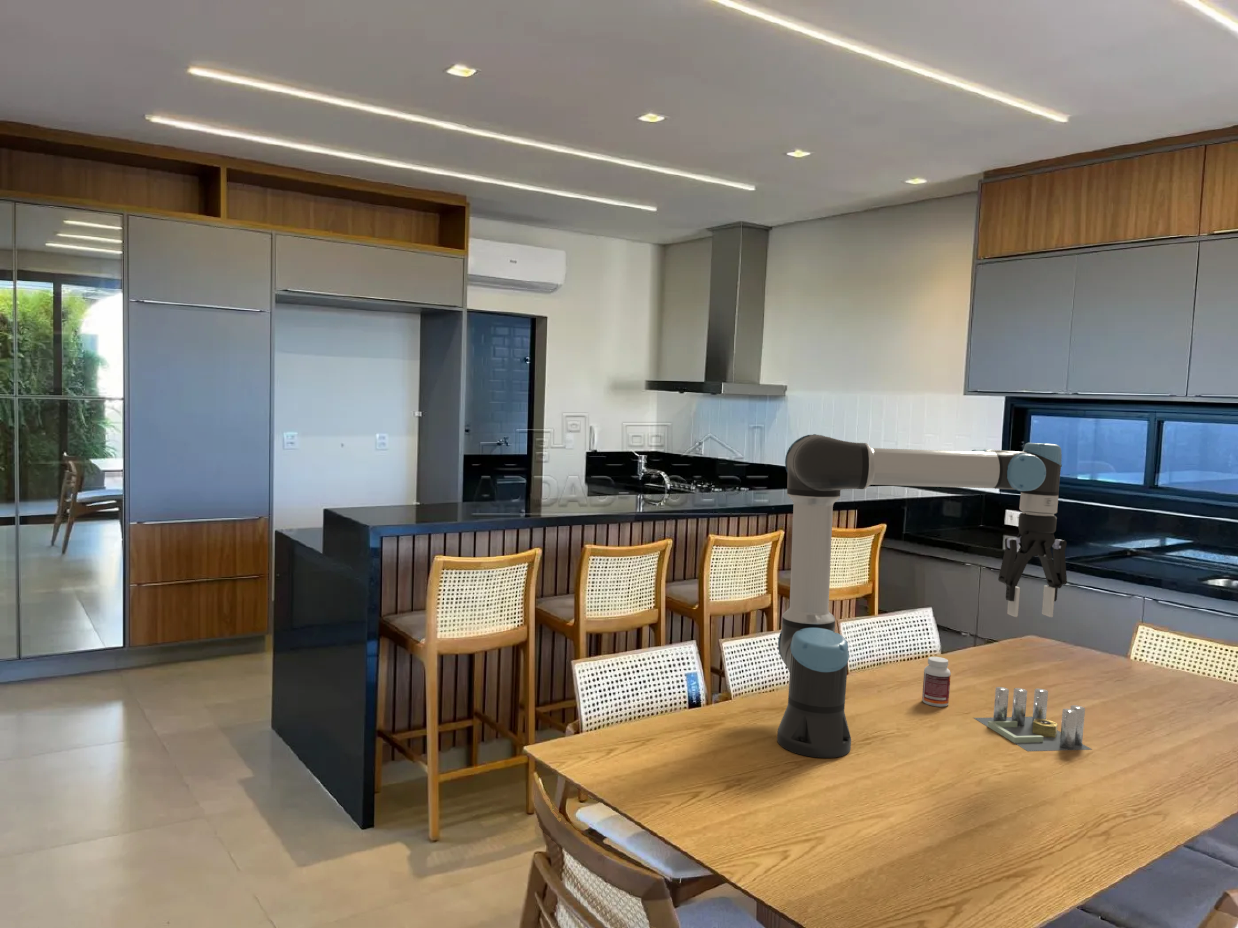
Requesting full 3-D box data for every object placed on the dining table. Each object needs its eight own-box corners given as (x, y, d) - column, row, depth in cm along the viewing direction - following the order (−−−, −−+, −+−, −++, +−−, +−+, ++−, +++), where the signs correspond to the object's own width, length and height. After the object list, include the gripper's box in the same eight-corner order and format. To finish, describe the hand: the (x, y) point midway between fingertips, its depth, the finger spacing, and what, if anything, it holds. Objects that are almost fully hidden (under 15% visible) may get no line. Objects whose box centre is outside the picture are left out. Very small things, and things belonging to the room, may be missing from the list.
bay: (1014, 742, 192) (1014, 737, 192) (987, 726, 202) (987, 721, 202) (1043, 741, 193) (1043, 736, 193) (1015, 725, 203) (1015, 720, 203)
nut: (1047, 738, 196) (1048, 727, 195) (1027, 730, 200) (1028, 719, 200) (1062, 736, 198) (1063, 725, 197) (1041, 728, 202) (1042, 717, 202)
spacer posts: (1040, 750, 188) (1043, 713, 188) (990, 720, 206) (993, 686, 205) (1091, 749, 191) (1094, 712, 190) (1037, 719, 208) (1040, 686, 207)
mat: (1027, 752, 188) (1027, 750, 188) (973, 719, 207) (973, 717, 207) (1092, 751, 190) (1092, 749, 190) (1032, 718, 210) (1032, 716, 210)
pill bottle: (953, 707, 215) (956, 662, 215) (929, 707, 214) (932, 662, 214) (940, 699, 221) (943, 655, 221) (917, 698, 221) (920, 655, 220)
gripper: (1005, 514, 189) (997, 619, 191) (1091, 516, 193) (1083, 619, 194) (985, 510, 196) (977, 611, 198) (1068, 512, 200) (1060, 611, 202)
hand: (1029, 615), depth 196 cm, fingers open, 8 cm apart
